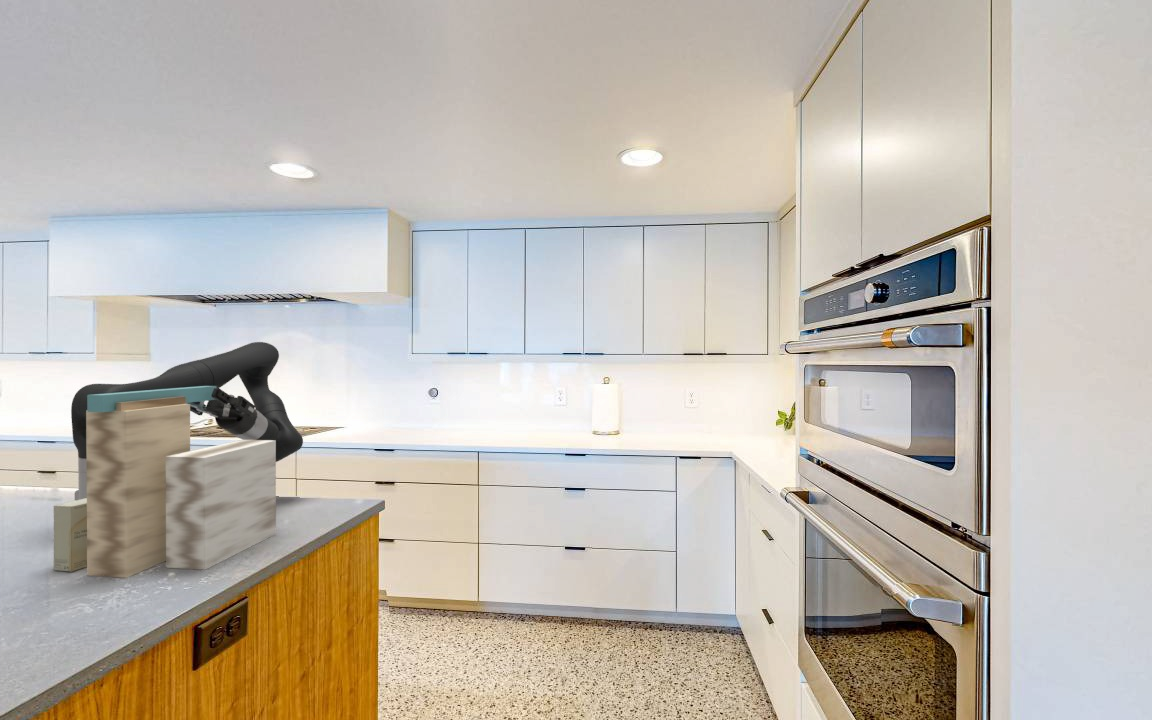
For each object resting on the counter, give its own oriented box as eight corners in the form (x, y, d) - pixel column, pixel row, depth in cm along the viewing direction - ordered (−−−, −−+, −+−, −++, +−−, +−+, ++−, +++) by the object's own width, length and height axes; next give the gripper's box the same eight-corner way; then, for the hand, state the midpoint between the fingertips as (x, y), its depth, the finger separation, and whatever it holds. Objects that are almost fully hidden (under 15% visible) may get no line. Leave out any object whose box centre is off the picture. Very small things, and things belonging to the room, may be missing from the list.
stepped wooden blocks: (87, 575, 98) (86, 402, 98) (197, 530, 123) (197, 392, 123) (182, 581, 96) (182, 404, 96) (275, 534, 121) (275, 393, 121)
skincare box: (71, 572, 100) (70, 506, 99) (52, 570, 100) (51, 505, 100) (107, 560, 106) (106, 497, 106) (88, 558, 107) (88, 496, 106)
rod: (87, 411, 96) (87, 394, 96) (204, 399, 122) (204, 385, 122) (102, 412, 95) (102, 395, 95) (216, 399, 121) (216, 386, 121)
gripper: (221, 406, 134) (173, 375, 120) (275, 407, 133) (232, 376, 119) (209, 434, 131) (158, 406, 116) (264, 436, 129) (219, 407, 115)
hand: (196, 391), depth 118 cm, fingers open, 8 cm apart
